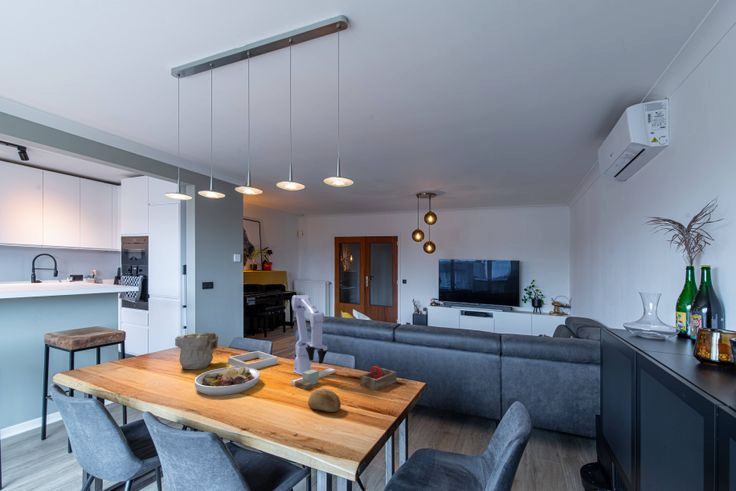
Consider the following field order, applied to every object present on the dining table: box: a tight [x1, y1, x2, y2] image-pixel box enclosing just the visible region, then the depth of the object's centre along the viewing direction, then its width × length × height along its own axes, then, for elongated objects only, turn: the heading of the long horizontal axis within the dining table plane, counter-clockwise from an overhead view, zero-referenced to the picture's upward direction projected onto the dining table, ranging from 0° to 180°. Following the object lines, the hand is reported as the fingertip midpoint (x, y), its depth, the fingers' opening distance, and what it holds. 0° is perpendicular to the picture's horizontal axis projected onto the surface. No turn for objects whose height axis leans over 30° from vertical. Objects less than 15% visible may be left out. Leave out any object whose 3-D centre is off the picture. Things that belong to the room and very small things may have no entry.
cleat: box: [294, 379, 313, 391], centre depth 164 cm, size 8×4×2 cm, turn 51°
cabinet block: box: [301, 368, 320, 386], centre depth 169 cm, size 4×7×6 cm, turn 141°
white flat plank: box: [290, 367, 336, 386], centre depth 178 cm, size 4×28×2 cm, turn 141°
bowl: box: [194, 366, 261, 396], centre depth 165 cm, size 30×30×8 cm
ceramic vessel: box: [174, 331, 219, 370], centre depth 197 cm, size 23×24×25 cm
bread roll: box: [307, 388, 341, 413], centre depth 139 cm, size 10×15×8 cm, turn 68°
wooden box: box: [359, 367, 397, 392], centre depth 170 cm, size 10×17×5 cm, turn 141°
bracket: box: [369, 365, 391, 388], centre depth 170 cm, size 12×4×8 cm, turn 65°
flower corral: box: [227, 350, 279, 370], centre depth 201 cm, size 21×20×4 cm
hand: (316, 361), depth 173 cm, fingers open, 7 cm apart
